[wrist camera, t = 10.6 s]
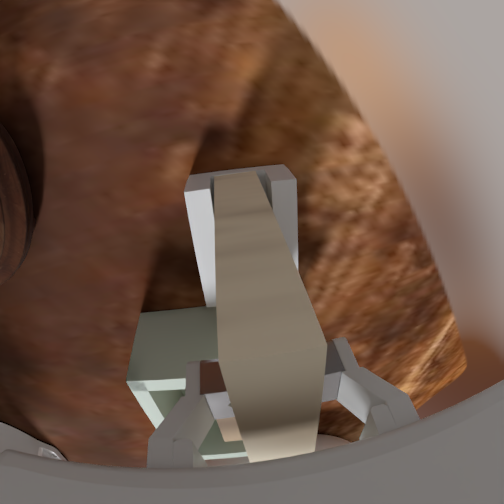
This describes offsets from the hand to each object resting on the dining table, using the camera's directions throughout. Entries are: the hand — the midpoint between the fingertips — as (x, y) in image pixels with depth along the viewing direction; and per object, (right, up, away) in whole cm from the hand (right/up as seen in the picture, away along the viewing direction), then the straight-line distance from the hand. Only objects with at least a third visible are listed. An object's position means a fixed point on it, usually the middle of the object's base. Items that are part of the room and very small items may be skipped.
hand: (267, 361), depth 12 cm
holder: (-1, +6, +10) cm, 12 cm away
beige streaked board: (-1, +5, +9) cm, 11 cm away
